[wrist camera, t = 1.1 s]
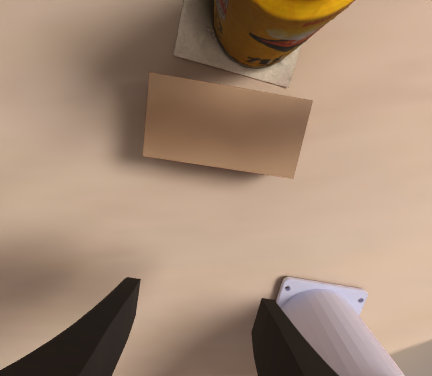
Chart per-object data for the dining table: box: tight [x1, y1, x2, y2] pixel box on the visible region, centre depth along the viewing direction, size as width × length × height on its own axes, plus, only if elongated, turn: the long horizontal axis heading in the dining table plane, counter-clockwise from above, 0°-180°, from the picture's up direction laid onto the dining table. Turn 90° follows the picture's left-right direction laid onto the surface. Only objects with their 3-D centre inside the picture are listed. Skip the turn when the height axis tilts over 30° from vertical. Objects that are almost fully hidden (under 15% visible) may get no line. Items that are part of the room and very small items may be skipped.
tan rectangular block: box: [143, 72, 313, 179], centre depth 17 cm, size 5×10×4 cm, turn 81°
